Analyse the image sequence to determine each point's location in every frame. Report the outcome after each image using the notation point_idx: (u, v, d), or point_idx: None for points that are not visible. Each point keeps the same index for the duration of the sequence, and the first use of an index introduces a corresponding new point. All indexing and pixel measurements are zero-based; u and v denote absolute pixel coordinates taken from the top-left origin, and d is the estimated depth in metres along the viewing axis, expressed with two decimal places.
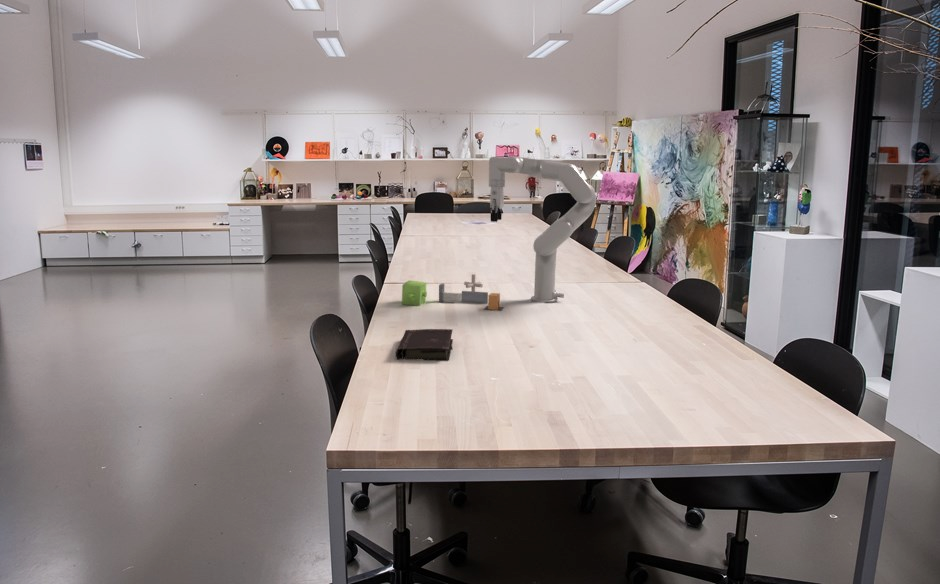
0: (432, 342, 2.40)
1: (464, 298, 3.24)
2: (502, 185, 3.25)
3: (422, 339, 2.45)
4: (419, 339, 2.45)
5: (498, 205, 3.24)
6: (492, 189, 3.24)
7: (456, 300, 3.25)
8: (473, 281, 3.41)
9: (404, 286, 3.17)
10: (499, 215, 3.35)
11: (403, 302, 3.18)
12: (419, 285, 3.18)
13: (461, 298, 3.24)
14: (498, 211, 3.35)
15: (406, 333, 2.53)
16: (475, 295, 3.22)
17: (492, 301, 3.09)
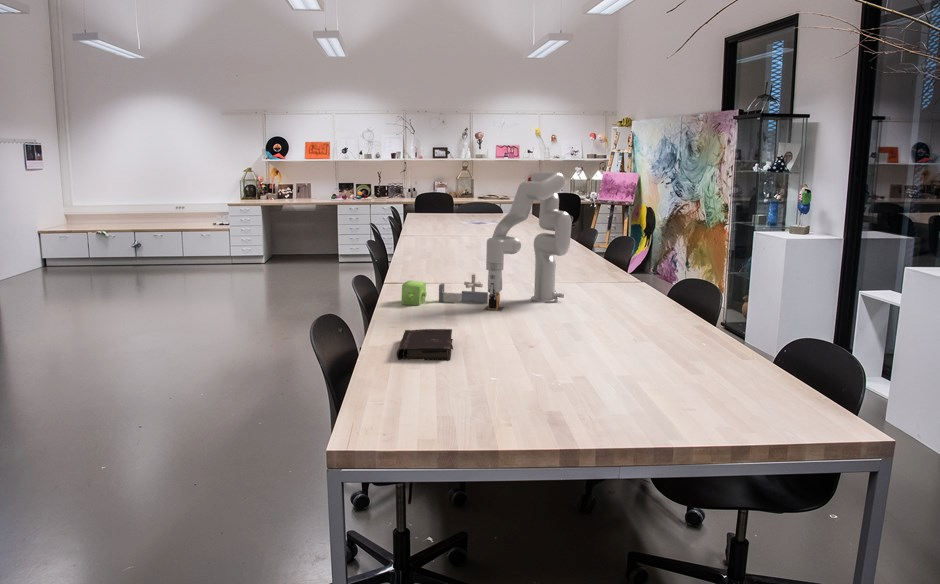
0: (433, 342, 2.40)
1: (464, 298, 3.24)
2: (500, 268, 3.06)
3: (422, 339, 2.45)
4: (419, 339, 2.45)
5: (496, 290, 3.05)
6: (490, 273, 3.05)
7: (456, 300, 3.25)
8: (473, 281, 3.41)
9: (404, 286, 3.17)
10: None
11: (403, 302, 3.19)
12: (419, 285, 3.18)
13: (461, 298, 3.24)
14: None
15: (406, 333, 2.53)
16: (475, 295, 3.22)
17: None
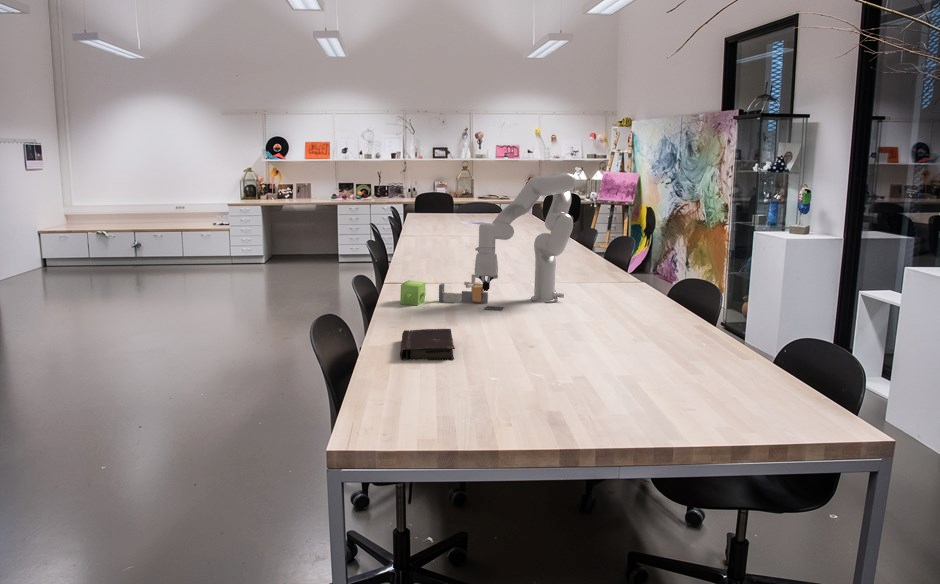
0: (435, 342, 2.40)
1: (464, 298, 3.24)
2: (481, 252, 3.16)
3: (424, 339, 2.44)
4: (421, 339, 2.44)
5: None
6: None
7: (456, 300, 3.25)
8: (473, 281, 3.41)
9: (402, 286, 3.17)
10: None
11: (401, 302, 3.19)
12: (417, 285, 3.18)
13: (461, 298, 3.24)
14: None
15: (405, 334, 2.53)
16: None
17: (475, 293, 3.20)
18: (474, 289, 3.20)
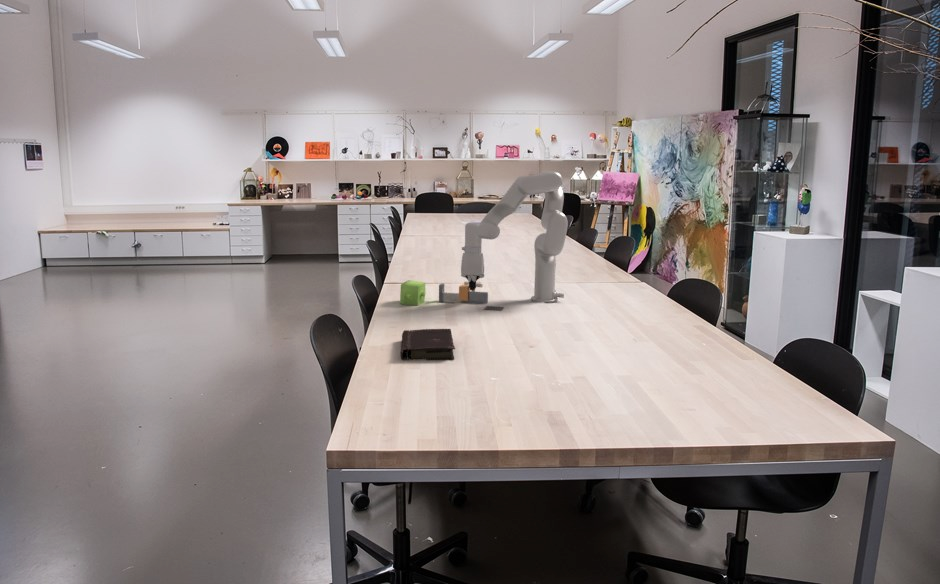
0: (435, 342, 2.40)
1: None
2: (467, 252, 3.17)
3: (424, 339, 2.44)
4: (421, 339, 2.44)
5: (461, 271, 3.21)
6: None
7: (456, 300, 3.25)
8: None
9: (402, 286, 3.17)
10: None
11: (401, 302, 3.19)
12: (417, 285, 3.18)
13: None
14: None
15: (405, 334, 2.53)
16: (475, 295, 3.22)
17: (462, 292, 3.22)
18: (460, 288, 3.21)
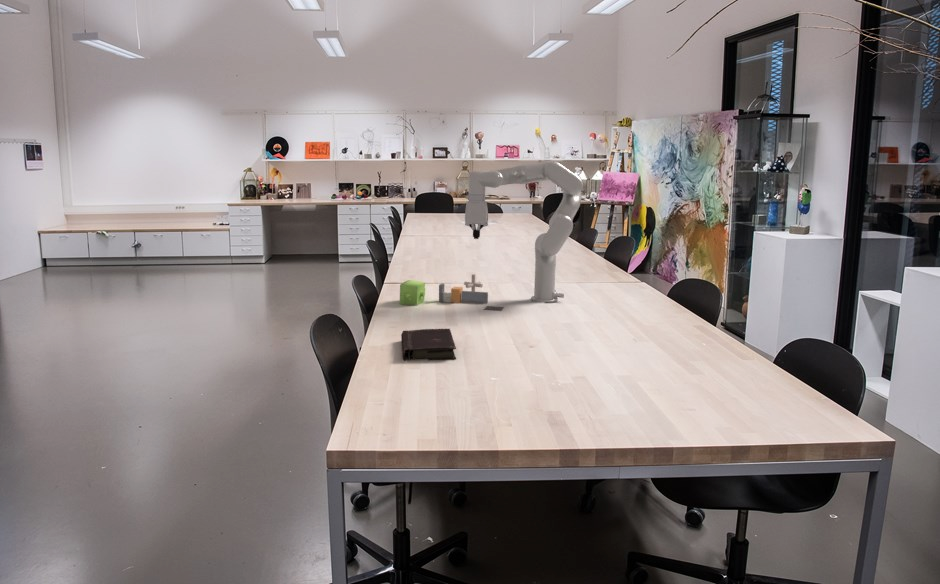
0: (436, 342, 2.41)
1: (464, 298, 3.24)
2: (471, 200, 3.19)
3: (425, 339, 2.44)
4: (422, 339, 2.44)
5: (465, 219, 3.22)
6: None
7: None
8: (473, 281, 3.41)
9: (402, 286, 3.18)
10: None
11: (401, 302, 3.19)
12: (417, 285, 3.18)
13: (461, 298, 3.24)
14: None
15: (405, 334, 2.52)
16: (475, 295, 3.22)
17: (454, 294, 3.23)
18: (453, 290, 3.23)
